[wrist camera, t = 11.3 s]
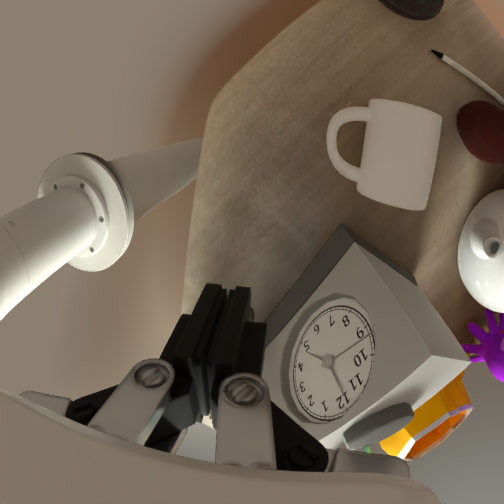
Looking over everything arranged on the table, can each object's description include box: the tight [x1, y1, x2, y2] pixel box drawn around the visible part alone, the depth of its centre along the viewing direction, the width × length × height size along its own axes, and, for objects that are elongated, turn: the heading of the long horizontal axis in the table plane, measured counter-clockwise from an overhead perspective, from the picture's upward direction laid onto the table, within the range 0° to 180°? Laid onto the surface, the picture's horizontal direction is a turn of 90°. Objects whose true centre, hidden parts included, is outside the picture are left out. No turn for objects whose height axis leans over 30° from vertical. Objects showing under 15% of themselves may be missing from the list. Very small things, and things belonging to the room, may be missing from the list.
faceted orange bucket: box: [364, 353, 473, 461], centre depth 40 cm, size 14×26×16 cm, turn 115°
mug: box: [326, 99, 442, 210], centre depth 27 cm, size 12×10×8 cm
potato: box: [457, 101, 504, 164], centre depth 24 cm, size 7×10×6 cm
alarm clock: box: [262, 224, 471, 450], centre depth 31 cm, size 20×16×20 cm
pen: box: [430, 49, 504, 106], centre depth 24 cm, size 1×19×1 cm, turn 73°
